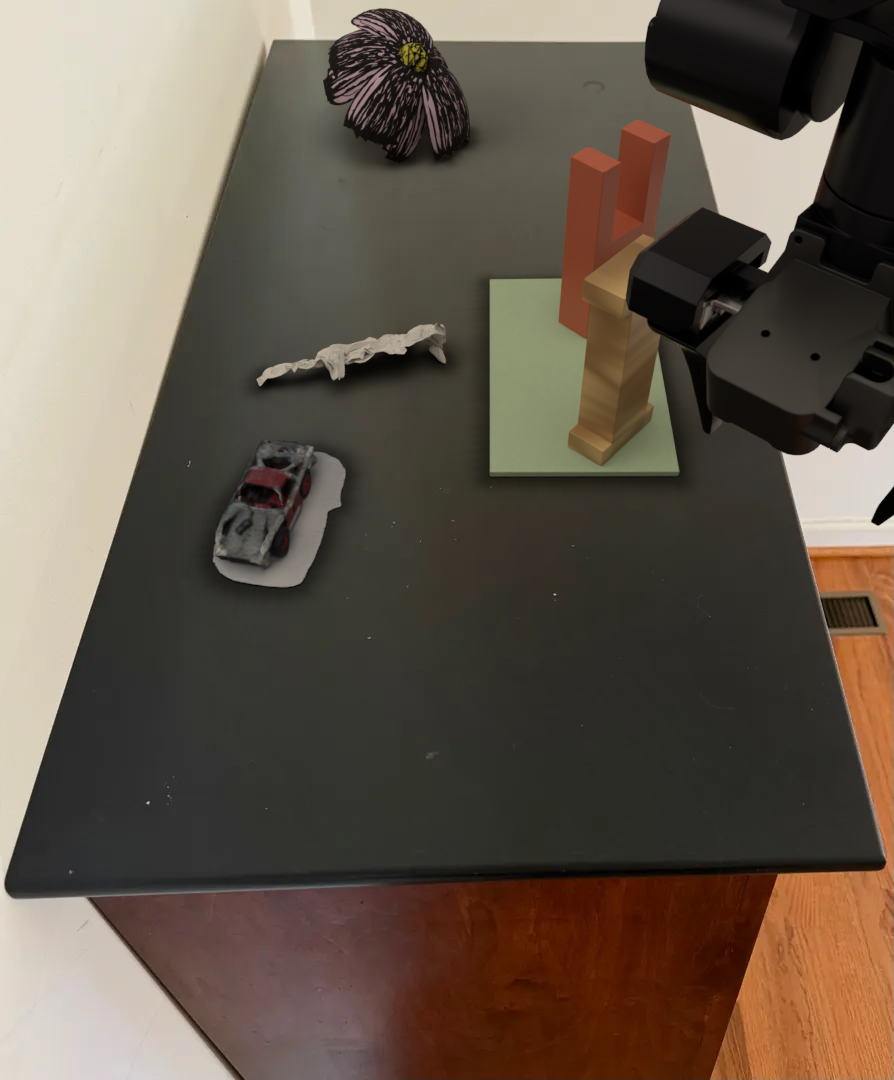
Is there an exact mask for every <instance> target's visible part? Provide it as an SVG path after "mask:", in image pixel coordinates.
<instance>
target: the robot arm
mask: <svg viewBox="0 0 894 1080" xmlns="http://www.w3.org/2000/svg"><path fill="white" fill-rule="evenodd" d="M658 3H659V4H658V6H657V10H656V13H655V16H653V17H651V18H650V21H649V22H648V25H647V28H646V34H645V41H644V66H645V73H646V76H647V79H648V81H649V84H650V85H651V86H652V87H653V89H654V90H656V91H657V92H659V93H661V94H664V95H666V96H669V97H671V98H673V99H675V100H678V101H681V102H683V103H685V104H688V105H690V106H692V107H696V108H698V109H700V110H703V111H704V112H707V113H710V114H713V115H715V116H717V117H720V118H723V119H725V120H727V121H730V122H732V123H734V124H737V125H739V126H742V127H744V128H747V129H748V130H751V131H754V132H757V133H758V134H761V135H764V136H766V137H768V138H771V139H773V140H778V141H784V140H787V139H791V138H792V137H794V136H796V135H797V134H799V133H800V132H801V131H802V130H803V129H804V128H806V126H807V125H808V124H809V123H810V122H813V123H823V122H825V121H827V120H829V119H830V118H831V117H832V116H833V115H835V113H837V112H838V110H839V109H840V108H841V107H842V108H841V112H840V115H839V118H838V121H837V125H836V128H835V131H834V133H833V138H832V141H831V144H830V146H829V149H828V154H827V156H826V160H825V163H824V167H823V170H822V172H821V176H820V178H819V183H818V186H817V188H816V192H815V195H814V198H813V201H812V203H811V204H810V205H809V206H808V207H807V208H806V209H804V210H803V211H802V212H801V213H799V214H798V215H797V218H796V221H795V225H794V227H793V230H792V231H791V232H790V233H789V235H788V237H787V242H786V245H785V248H784V250H783V252H782V253H781V254H780V256H779V257H778V258H777V260H776V261H775V263H774V264H773V265H772V266H771V268H770V269H769V271H765V270H764V269H761V267H762V266H763V265H765V264H766V263H767V260H768V256H769V254H770V249H771V246H772V243H773V242H772V240H771V239H770V237H769V235H768V234H767V233H766V232H763V231H761V230H759V229H756V228H754V227H751V226H750V225H747V224H744V223H743V222H740V221H737V220H735V219H732V218H729V217H727V216H725V215H723V214H720V213H718V212H715V211H713V210H711V209H708V208H706V207H703V206H702V207H700V208H698V209H697V210H695V211H693V212H691V213H689V214H687V215H686V216H685V217H683V218H682V219H681V220H680V221H678V222H677V223H676V224H674V225H673V226H672V227H671V228H669V229H668V230H667V231H665V232H664V233H663V234H662V235H660V236H659V237H658V238H656V240H655V241H654V242H653V243H651V244H650V245H649V246H647V247H646V248H645V249H644V250H642V251H641V252H640V253H639V254H638V256H637V258H636V259H635V261H634V263H633V265H632V267H631V269H630V271H629V278H628V285H627V292H626V303H627V307H628V310H630V311H632V312H634V313H636V314H638V315H640V316H642V317H644V318H646V319H647V324H648V327H649V328H650V329H651V330H652V331H653V332H655V333H657V334H659V335H660V337H661V338H664V339H665V340H668V342H670V343H672V344H674V345H676V346H677V347H679V348H680V350H681V352H682V354H683V357H684V360H685V362H686V365H687V369H688V371H689V375H690V379H691V383H692V387H693V392H694V396H695V402H696V405H697V410H698V414H699V419H700V424H701V428H702V431H703V433H705V434H706V435H710V436H711V435H712V434H714V432H716V430H717V429H719V427H720V426H721V425H722V423H723V422H724V423H726V424H733V425H735V426H737V427H738V428H740V429H742V430H744V431H746V432H748V433H750V434H752V435H754V436H755V437H757V438H759V439H761V440H763V441H765V442H767V444H769V445H770V446H771V447H772V449H776V451H779V452H781V453H783V454H786V455H789V456H804V455H807V454H810V453H812V452H814V451H815V450H816V449H818V448H819V447H820V446H823V447H825V448H826V449H829V450H831V451H832V452H834V453H836V454H837V453H839V452H840V451H841V450H842V449H843V447H844V446H845V445H848V444H852V445H853V444H854V445H856V446H858V447H860V448H862V449H864V450H866V451H873V450H874V449H876V448H877V447H878V446H879V444H880V443H881V442H882V440H883V439H884V438H885V437H886V435H887V434H888V433H889V431H890V430H891V428H892V427H893V426H894V0H659V2H658ZM893 516H894V485H893V486H892V488H891V489H890V490H889V491H888V493H887V494H886V495H885V496H884V498H883V499H882V500H881V501H880V503H878V505H877V507H876V509H875V510H874V513H873V516H872V518H871V520H870V523H871V524H873V525H875V526H877V527H879V526H881V525H882V524H884V523H885V522H886V521H888V520H889V519H891V518H892V517H893Z"/></svg>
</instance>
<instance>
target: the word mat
mask: <svg viewBox="0 0 894 1080" xmlns="http://www.w3.org/2000/svg"><path fill="white" fill-rule="evenodd" d="M561 282H562V277H561V278H494V279H493V278H490V279H489V477H678V476H679V475H680V467H679V461H678V456H677V449H676V445H675V439H674V433H673V427H672V422H671V421H672V420H671V416H670V411H669V410H670V409H669V404H668V400H667V399H668V397H667V394H666V392H667V391H666V388H665V381H664V377H663V376H664V375H663V371H662V363H661V359H660V353H659V350H658V351H657V356H656V362H655V367H654V372H653V378H652V383H651V388H650V394H649V399H648V403H650V404H652V405H654V408H653V413H652V418H651V421H650V422H649V423H648V424H647V425H646V426H644V427H643V428H642V429H641V430H640V431H639V432H638V433H637V434H636V435H635V436H634V437H633V438H631V439H630V440H629V441H628V442H627V443H626V444H625V445H624V446H623V447H622V448H621V449H620V450H618V451H617V452H616V453H615V454H614V455H613V456H612V457H611V458H610V459H609V460H608V461H606V462H605V463H604V464H603V465H602V466H600V465H598V464H597V463H595V462H593V461H592V460H590V459H588V458H586V457H585V456H583V455H581V454H580V453H578V452H576V451H575V450H573V449H571V448H570V447H568V436H569V431H570V430H571V429H572V428H574V427H575V426H576V425H577V424H578V416H579V407H580V398H581V389H582V380H583V371H584V361H585V352H586V343H587V339H585V338H583V337H582V336H580V335H579V334H577V333H575V332H574V331H572V330H570V329H569V328H567V327H566V326H564V325H562V324H561V323H559V322H558V321H559V308H560V295H561Z"/></svg>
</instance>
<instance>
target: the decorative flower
mask: <svg viewBox="0 0 894 1080" xmlns="http://www.w3.org/2000/svg"><path fill="white" fill-rule="evenodd" d="M350 23H351V25H353V26H355V27H357V28H358V29H357V30H354V31H352V32H348V33H347V34H344V35H343V36H341V37H339V38H338V39H336V40H335V41H334V42H333V44H332V45H331V46H330V47H329V48H328V49H327V50H328V53H327V56H328V65H329V67H328V68H327V72H326V73H327V74H326V77H325V78H324V79H322V84H323V89H324V95H325V97H326V100H327V102H328V104H330V105H333V106H343V105H346V104H348V103H350V104H349V107H348V108H347V111H346V113H345V116H344V121H343V123H342V124H343V125H342V127H346V128H347V129H351V130H352V132H353V133H354V136H355V139H358V138H359V137H360V138H361V139H362V140H363V141H364V143H366V142H368V141H369V142H371V143H372V144H374V145H380V146H382V147H381V149H382V150H383V151H384V152H385V156H384V159H386V160H389V161H392V162H394V163H398V164H401V163H403V162H405V161H406V160H408V159H409V158H410V157H411V156H412V155H413V153H414V152H415V151H416V150H417V148H418V145H419V144H420V142H421V140H422V139H423V136H424V133H425V130H426V129H427V137H428V139H429V146H430V150H431V152H432V154H433V157H434V160H435V162H436V163H438V162H439V161H440V160H442V159H443V157H444V156H445V157H446V156H448V157H453V154H454V152H457V151H459V147H460V146H461V145H462V144H463V143H464V141H465V140H467V141H470V139H471V119H470V113H469V108H468V107H469V106H468V104H467V99H466V96H465V95H464V91H463V89H462V87H461V84H460V82H459V81H458V79H457V78H456V76H455V74H453V72H452V71H451V70H450V69H449V66H448V64H447V62H446V60H445V58H444V57H443V55H442V53H441V52H440V50H439V49H437V47H436V46H435V45H434V40H433V36H432V35H431V34H430V33H429V31H428V30H427V28H426V27H425V26H424V25H423V24H422V23H421V22H420V21H418V20H417V19H416V18H415V17H414V16H411V15H410V14H408V13H406V12H404V11H400V10H398V9H394V8H387V7H383V8H381V7H379V8H373V9H368V10H365V11H363V12H361V13H358V14H356V16H354V17H353V18H352V19H350Z"/></svg>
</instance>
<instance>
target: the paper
mask: <svg viewBox="0 0 894 1080" xmlns="http://www.w3.org/2000/svg"><path fill="white" fill-rule="evenodd" d="M418 342H424V343H425V344H427V346H429V347H428V351H429V353H431V354H432V355H433V356H434V357H435V358H436V359H437V361H439V362H441V363H443V364H447V358H446V356H445V353H447V351H446V349H445V348H444V346H443V344H446V343H447V336H446V327H445V325H444V324H443V323H440V322H435V324H429V323H427V324H419V325H417V326H415V327H413V328H411V329H410V330H409V331H407V333H401V334H398V333H395V334H393V333H386V334H383V335H382V336H380V337H379V338H378V339H377V338H375V337H372V336H369V337H367V338H365V339H364V340H360V341H356V342H352V343H348V344H343V343H333V344H331V345H329V346H328V347H324V348H322V349H321V350H319V351H317V354H316V356H315V357H314V359H309V358H306V359H305V358H303V359H301V360H297V361H296V362H284V363H279V364H276V365H274V366H271V367H267V368H266V369H264V371H263V372H262V374H261V376H259V377H257V378H256V382H257V384H258V386H259V387H262V385H263V384H264V383H265V382H266V380H267V379H275V378H277V377H281V376H283V375H284V374H286V373H288V372H289V371H290V370H291V371H292V372H293V373H294V374H295V373H296V371H297V370H298V369H300V370H302V371H303V373H306V372H308V370H312V369H320V368H324V367H325V368H326V369H327V370H328V371H329V374H330V378H331V380H332V381H335V380H337V379H338V381H340V380H341V379H344V378H345V375H346V373H345V372H346V370H345V369H346V368H345V367H346V366H345V365H350V364H353V363H358V364H362V363H366V362H367V361H369V360H370V359H371V358H373V356H374V355H375V354H376V353H381V352H384V353H387V354H388V355H394V354H396V355H405V354H406V352H407V351H408V349H407V348H406V347H411V346H413V345H415V344H416V343H418Z"/></svg>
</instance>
